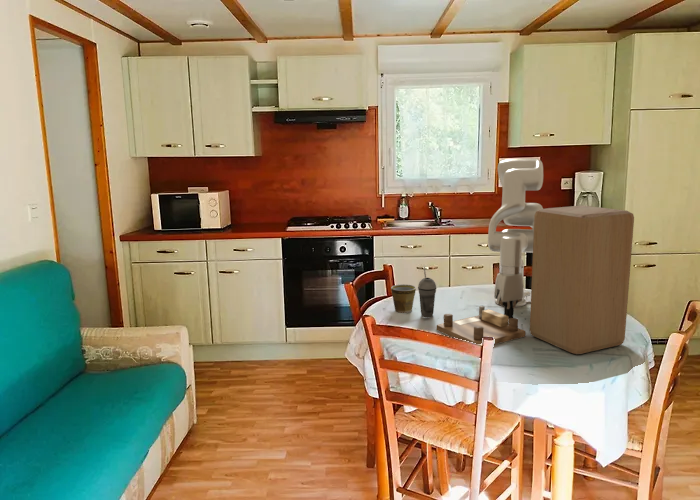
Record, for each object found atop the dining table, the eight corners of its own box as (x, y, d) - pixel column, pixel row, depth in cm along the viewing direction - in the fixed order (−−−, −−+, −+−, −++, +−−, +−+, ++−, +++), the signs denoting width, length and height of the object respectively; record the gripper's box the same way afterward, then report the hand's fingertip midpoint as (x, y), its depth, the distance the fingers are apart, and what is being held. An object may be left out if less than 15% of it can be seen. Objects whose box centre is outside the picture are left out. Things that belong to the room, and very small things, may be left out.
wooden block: (576, 357, 171) (584, 216, 162) (526, 335, 191) (531, 208, 182) (627, 346, 180) (638, 210, 171) (574, 326, 200) (581, 204, 191)
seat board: (482, 319, 209) (482, 303, 208) (525, 336, 191) (526, 318, 189) (436, 330, 199) (436, 313, 198) (477, 348, 180) (477, 330, 179)
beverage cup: (435, 319, 211) (436, 269, 207) (417, 318, 213) (417, 268, 209) (436, 313, 218) (437, 265, 214) (418, 312, 220) (418, 264, 216)
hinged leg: (481, 319, 202) (482, 310, 202) (488, 317, 204) (488, 309, 203) (501, 327, 194) (501, 317, 193) (508, 325, 195) (508, 316, 195)
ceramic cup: (420, 312, 220) (420, 288, 218) (399, 316, 216) (399, 292, 214) (403, 304, 232) (403, 281, 230) (383, 307, 227) (383, 284, 225)
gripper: (519, 265, 203) (518, 312, 206) (486, 269, 197) (485, 318, 201) (533, 269, 196) (531, 318, 200) (500, 274, 190) (498, 324, 194)
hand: (508, 318), depth 200 cm, fingers closed
